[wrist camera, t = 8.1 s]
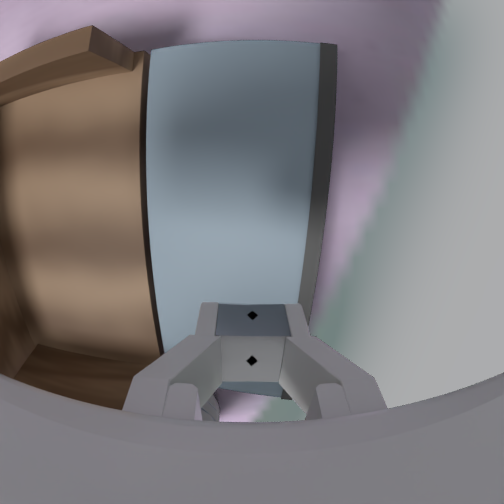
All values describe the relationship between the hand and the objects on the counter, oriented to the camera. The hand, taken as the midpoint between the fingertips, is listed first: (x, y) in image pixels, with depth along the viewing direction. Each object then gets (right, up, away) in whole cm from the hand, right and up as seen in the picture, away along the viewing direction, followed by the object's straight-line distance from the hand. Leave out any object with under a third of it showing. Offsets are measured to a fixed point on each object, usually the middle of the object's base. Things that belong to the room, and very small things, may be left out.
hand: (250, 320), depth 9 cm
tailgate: (-6, +3, +7) cm, 9 cm away
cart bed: (-13, +4, +9) cm, 17 cm away
